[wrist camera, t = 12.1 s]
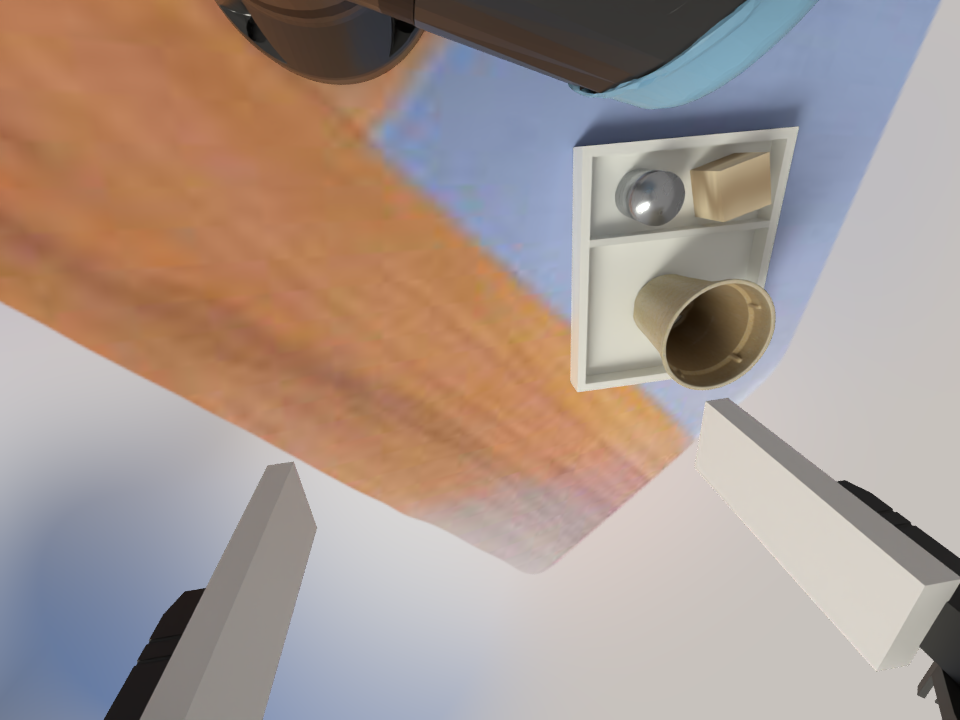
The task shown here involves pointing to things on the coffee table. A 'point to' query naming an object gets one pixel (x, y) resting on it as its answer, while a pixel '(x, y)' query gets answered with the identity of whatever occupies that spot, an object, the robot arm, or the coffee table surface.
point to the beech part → (731, 186)
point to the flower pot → (705, 327)
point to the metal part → (650, 196)
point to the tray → (656, 246)
